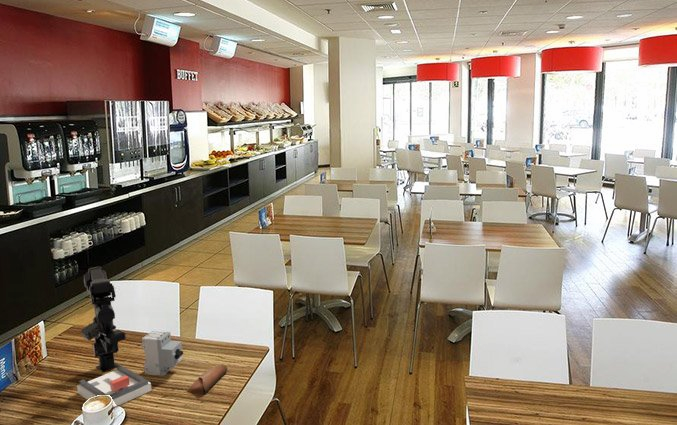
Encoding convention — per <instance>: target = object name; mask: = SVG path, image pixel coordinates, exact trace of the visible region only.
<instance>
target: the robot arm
mask: <svg viewBox="0 0 677 425" xmlns="http://www.w3.org/2000/svg"><path fill="white" fill-rule="evenodd" d="M83 283H84V284H83V285H84V288H86V291H87V293H88V294H89V295H90V301H91V305H93V310H94V317H93V319H92V321H93V322H92V323H89V324H87V325H86V326H85V327H84V328H82V329H81V330H80V333H81V335H82V337H83V338H84V339H86V340H87V341H91V340H93V339H94V342H93V343H92V344H93V346H92V347H93V354H94V357H95V358H98V365H96V366H95V368H96V369H98V370H99V371H100V372H102V373H105V372H107V371H111V370H114V369H115V368H116V369H117V366H118V365H119V364H117V363H116V362H115V354H117V353H118V352H119V342H120V341H123V340H125V339H127V334H126V332H125V331H122V330H120V329H117V326H116V325H115V324H114V319H115V318H116V313H115V311H114V308H113V306H112V302H115V301H116V300H115V298H116V297H117V296H116V290H115V286H114V285H113V283H111V282H110V279H108V277H107V271H105V270H103V267H101V266H95V267H90V268H88V271H86V273H85V274H83Z"/></svg>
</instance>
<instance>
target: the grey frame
mask: <svg viewBox="0 0 677 425" xmlns="http://www.w3.org/2000/svg"><path fill="white" fill-rule="evenodd" d="M116 370H118V371H120V372H122V373H123V374H125V375H127V376H129V377H130V378H132V379H134V380H136V381H137V382H138V383H136V384H134V385H131V386H129V387H127V388H124V389H122V390H120V391H117V392H115V393H113V394H111V395H110V396H111V397H112V399H113V400H114V399H116V398H118V397H121V396H123V395H125V394H127V393H130V392H132V391H134V390H136V389H139V388H141V387H143V386H145V385H148V382H149V380H148V379H147V378H144V377H142V376H141V375H140V374H138V373H135V372H133V371H132V370H130V369H129V368H126V367H125V366H123V365H121V364H118V366H117V367H116ZM78 383H79V385H81V386H82V387H84V388H85V389H87V390H88V391H90V392H91V393H93V394H94V395H96V396H97V395H107V394H105V393H104V392H102V391H100V390H99V389H97V388H96V387H94V386H93V385H91V384H90V383H88V381H87V380H85V379H81V380H79V382H78Z"/></svg>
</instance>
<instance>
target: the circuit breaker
mask: <svg viewBox="0 0 677 425" xmlns="http://www.w3.org/2000/svg"><path fill="white" fill-rule="evenodd" d="M141 340H142V342H141V348H142V349H143V350H144V355H145V356H144V357H145V362H144V363H143V368H144V372H145V373H144V374H145V375H152V376H163V377H164V376H165V375H166V374H168V372H169V371H170V370H172V368H175V367H176V366H177V364H179V363H180V362H181V361H182V360H183V358H184V357H183V354H184V351H183V347H182V341H179V340H172V338H171V331H162V330H161V331H159V330H151V331H150V332H149V333H147V334H146V335H145V336H143V337H142V338H141Z"/></svg>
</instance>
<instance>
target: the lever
mask: <svg viewBox="0 0 677 425" xmlns="http://www.w3.org/2000/svg"><path fill="white" fill-rule="evenodd" d="M128 385H130V384H129V377H128V376H126V375H125V376H122V377H120V378H118V379H115V380H113V381H110V388H111V390H112V391H116V390H119V391H120V390H122V389H123V387H126V386H128Z"/></svg>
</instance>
